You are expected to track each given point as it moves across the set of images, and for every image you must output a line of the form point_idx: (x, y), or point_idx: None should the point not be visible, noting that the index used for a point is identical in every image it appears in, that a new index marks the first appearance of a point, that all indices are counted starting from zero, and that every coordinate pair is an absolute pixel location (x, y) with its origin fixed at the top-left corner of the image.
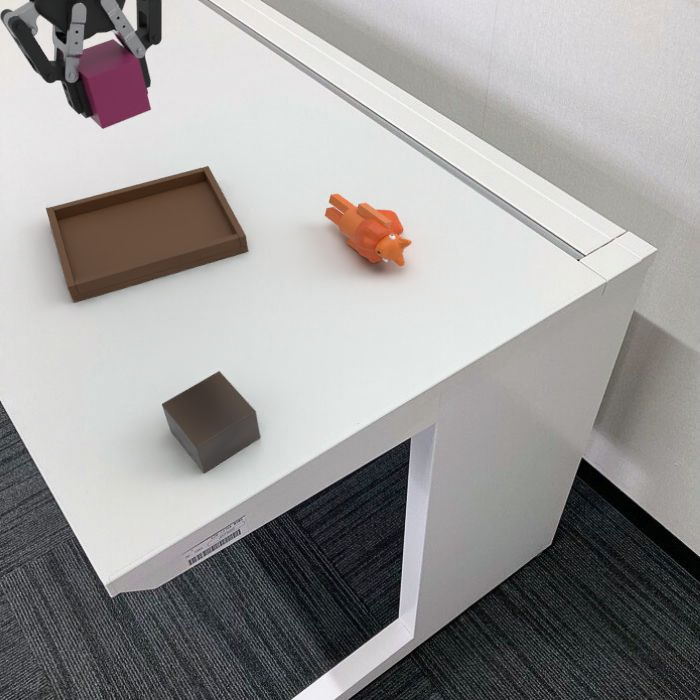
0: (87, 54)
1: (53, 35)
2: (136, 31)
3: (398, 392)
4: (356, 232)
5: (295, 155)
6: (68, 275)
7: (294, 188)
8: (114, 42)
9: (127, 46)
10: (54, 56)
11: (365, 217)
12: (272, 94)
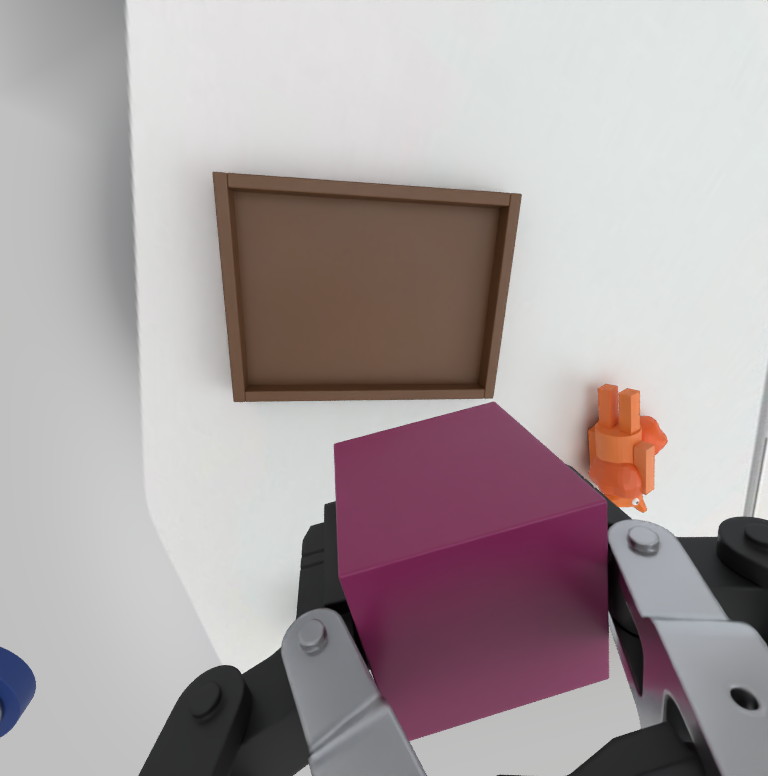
0: (451, 596)
1: None
2: (727, 594)
3: None
4: (609, 471)
5: (650, 198)
6: (237, 378)
7: (600, 285)
8: (596, 534)
9: (624, 658)
10: (295, 699)
11: (635, 461)
12: None
